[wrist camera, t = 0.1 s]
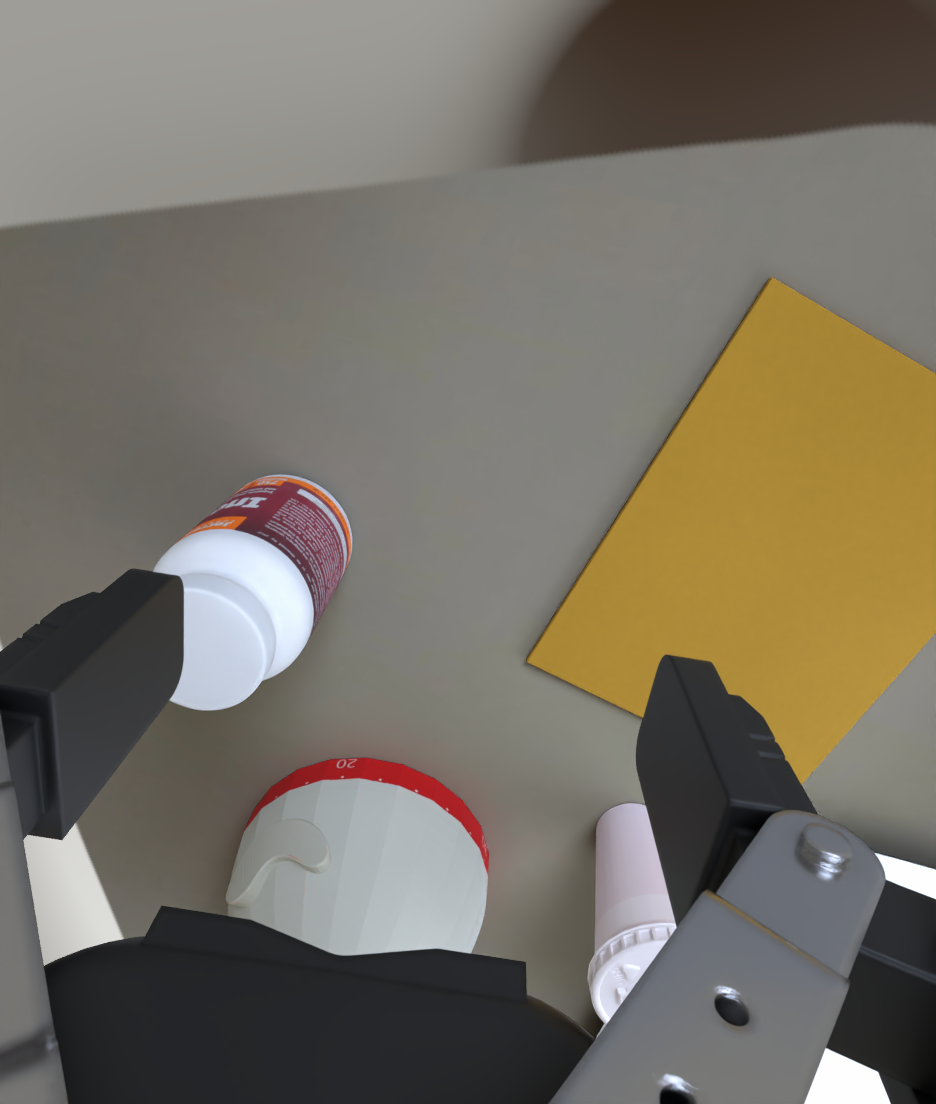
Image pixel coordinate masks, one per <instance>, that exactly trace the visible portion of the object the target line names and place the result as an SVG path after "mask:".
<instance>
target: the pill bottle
mask: <svg viewBox="0 0 936 1104" xmlns="http://www.w3.org/2000/svg"><path fill="white" fill-rule="evenodd" d="M351 553H352V532H351V528H350V524H349V521H348V518H347V516H346V514H345V512H344V511H343V509H342V507H341V506H340V505H339V503H338V502H337V501H336V500H335V499H334V497H333V496H332V495H331V494H329V493H328V492H327V491H326V490H325V489H323V488H322V487H320V486H319V485H317V484H315V483H313V482H311V481H309V480H307V479H304V478H300V477H297V476H292V475H269V476H265V477H261V478H258V479H256V480H254V481H251V482H249V483H248V484H246V485H245V486H243V487H242V488H240V489H239V490H238V491H237V492H235V493H234V494H233V495H232V496H231V497H230V498H229V499H227V500H226V501H225V502H224V503H223V504H222V505H221V506H219V507H218V508H217V509H216V510H215V511H214V512H212V513H211V514H210V515H209V516H208V517H206V518H205V519H204V520H203V521H202V522H200V523H199V524H198V525H197V526H196V527H194V528H193V529H192V530H191V531H190V532H189V533H187V534H186V535H185V536H184V537H182V538H181V539H180V540H179V541H178V542H177V543H175V544H174V545H173V546H172V547H171V548H170V549H169V550H168V551H167V552H166V553H165V554H164V555H163V556H162V557H161V559H160V560H159V561H158V563H157V564H156V566H155V568H154V570H153V572H159V573H165V574H171V575H178V576H179V577H180V578H181V579H182V582H183V586H184V661H183V669H182V673H181V677H180V681H179V683H178V686H177V688H176V690H175V692H174V694H173V696H172V697H171V698H170V701H171V702H173V703H176V704H178V705H181V706H184V707H187V708H191V709H196V710H220V709H225V708H229V707H231V706H234V705H236V704H239V703H240V702H242V701H243V700H245V699H246V698H248V697H249V696H250V695H251V694H252V693H253V692H254V691H255V690H256V689H257V687H258V686H259V684H260V683H261V682H262V681H263V680H266V679H268V678H271V677H273V676H275V675H277V674H278V673H280V672H282V671H283V670H284V669H286V668H287V667H288V666H289V665H290V664H291V663H292V662H293V661H294V660H295V659H296V658H297V657H298V655H299V654H300V653H301V651H302V650H303V648H304V647H305V645H306V643H307V642H308V640H309V638H310V636H311V634H312V632H313V630H314V629H315V627H316V625H317V623H318V621H319V619H320V617H321V616H322V614H323V612H324V610H325V608H326V606H327V605H328V603H329V601H330V599H331V597H332V595H333V594H334V592H335V590H336V588H337V586H338V584H339V582H340V580H341V579H342V577H343V575H344V573H345V571H346V569H347V566H348V563H349V560H350V557H351Z"/></svg>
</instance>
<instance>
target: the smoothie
mask: <svg viewBox="0 0 936 1104" xmlns="http://www.w3.org/2000/svg"><path fill="white" fill-rule="evenodd" d="M676 928H677V927H676V923H675V919H674V915H673V911H672V907H671V903H670V899H669V895H668V892H667V888H666V884H665V880H664V876H663V872H662V868H661V864H660V860H659V856H658V852H657V848H656V844H655V840H654V836H653V832H652V828H651V824H650V820H649V816H648V812H647V808H646V806H645V805H642V804H636V803H627V804H621V805H618V806H615V807H613V808H611V809H609V810H608V811H606V812H605V813H604V814H603V815H602V816H601V818H600V819H599V821H598V823H597V827H596V888H595V954H594V956H593V958H592V960H591V961H590V963H589V968H588V975H587V980H588V984H589V988H590V992H591V1000H592V1004H593V1007H594V1009H595V1011H596V1013H597V1015H598V1016H599V1018H600V1019H601V1020H602V1021H603V1022H604V1023H605V1024H607V1023H608V1022H609V1020H610V1019H611V1017H612V1016H613V1015H614V1013H615V1012H616V1011H617V1009H618V1008H619V1006H620V1005H621V1004H622V1002H623V1001H624V1000H625V998H626V997H627V995H628V994H629V993H630V991H631V990H632V989H633V987H634V986H635V984H636V983H637V982H638V980H639V979H640V977H641V976H642V975H643V973H644V972H645V971H646V969H647V968H648V966H649V965H650V964H651V962H652V961H653V960H654V958H655V957H656V955H657V954H658V953H659V951H660V950H661V949H662V947H663V946H664V944H665V943H666V942H667V940H668V939H669V938H670V936H671V935H672V933H673V932H674V931H675V929H676Z"/></svg>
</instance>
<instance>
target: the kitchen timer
mask: <svg viewBox="0 0 936 1104" xmlns="http://www.w3.org/2000/svg"><path fill="white" fill-rule="evenodd" d="M488 860H489V852H488V849H487V846H486V842H485V839H484V836H483V832H482V829H481V826H480V824H479V823H478V822H477V820H476V819H475V817H474V816H473V815H472V813H471V812H470V810H469V809H468V807H467V806H466V805H465V803H464V802H463V800H461V799H460V798H459V797H458V796H456V795H455V794H454V793H452V792H451V791H450V790H449V789H447V788H446V787H445V786H444V785H442V784H441V783H440V782H439V781H437V780H436V779H434V778H432V777H430V776H427V775H425V774H423V773H421V772H418V771H416V770H414V769H412V768H409V767H407V766H405V765H403V764H397V763H392V762H386V761H381V760H376V759H370V758H350V759H331V760H327V761H324V762H320V763H317V764H314V765H311V766H308V767H304V768H301V769H298V770H296V771H295V772H293V773H292V774H290V775H289V776H287V777H286V778H284V779H283V780H281V781H280V782H278V783H277V784H275V785H274V786H272V787H271V788H270V789H269V791H268V792H267V793H266V795H265V796H264V797H263V799H262V800H261V801H260V803H259V804H258V805H257V806H256V808H255V809H254V811H253V813H252V815H251V817H250V820H249V822H248V824H247V826H246V828H245V831H244V833H243V836H242V840H241V843H240V846H239V850H238V853H237V857H236V860H235V864H234V867H233V871H232V876H231V881H230V884H229V886H228V889H227V893H226V902H227V903H228V916H231V917H237V918H244V919H250V920H253V921H256V922H258V923H260V924H263V925H265V926H268V927H270V928H272V929H275V930H277V931H280V932H282V933H284V934H287V935H289V936H291V937H294V938H296V939H299V940H301V941H303V942H306V943H308V944H311V945H313V946H315V947H318V948H320V949H322V950H325V951H327V952H330V953H333V954H336V955H361V954H373V953H385V952H398V951H410V950H422V949H435V948H438V949H444V950H451V951H457V952H464V953H470V954H471V952H472V949H473V947H474V944H475V942H476V939H477V937H478V934H479V931H480V929H481V926H482V922H483V918H484V914H485V907H486V897H487V883H488Z"/></svg>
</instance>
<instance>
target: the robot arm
mask: <svg viewBox="0 0 936 1104" xmlns="http://www.w3.org/2000/svg"><path fill="white" fill-rule="evenodd" d="M183 661H184V586H183V582H182V579H181V578H180V577H179V576H178V575H171V574H165V573H159V572H153V571H146V570H140V569H130V570H128V571H127V572H126V573H124V574H123V575H122V576H121V577H119V578H118V579H117V580H116V581H115V582H113V583H112V584H111V585H110V586H109V587H107V588H106V589H105V590H104V591H102V592H101V593H96V592H91V593H89V594H86V595H84V596H81V597H79V598H76V599H73V600H71V601H68V602H66V603H63V604H61V605H60V606H59V607H57V608H56V609H55V610H53V611H52V612H51V613H50V614H48V615H47V616H46V617H44V618H43V619H42V620H41V621H40V624H35V625H34V626H33V627H32V628H30V629H29V630H28V631H26V632H25V633H24V634H23V637H22V638H17V639H16V640H15V641H14V642H12V643H11V644H10V645H8V646H7V647H6V648H5V649H3V650H2V651H1V652H0V1104H804V1103H805V1101H806V1098H807V1095H808V1093H809V1090H810V1088H811V1085H812V1082H813V1080H814V1077H815V1075H816V1072H817V1070H818V1067H819V1064H820V1062H821V1059H822V1057H823V1054H824V1051H825V1049H826V1048H827V1049H829V1050H831V1051H833V1052H835V1053H838V1054H840V1055H842V1056H844V1057H846V1058H849V1059H851V1060H853V1061H855V1062H857V1063H859V1064H862V1065H864V1066H866V1067H868V1068H870V1069H873V1070H875V1071H877V1072H878V1073H879V1076H880V1078H881V1081H882V1083H883V1086H884V1088H885V1091H886V1093H887V1096H888V1098H889V1101H890V1103H891V1104H936V899H934V898H932V897H929V896H926V895H924V894H921V893H919V892H916V891H913V890H911V889H908V888H905V887H903V886H900V885H898V884H896V883H893V882H891V881H888V880H886V878H885V871H884V869H883V866H882V864H881V862H880V860H879V859H878V857H877V856H876V854H875V853H874V852H873V851H872V849H871V848H870V847H869V846H868V845H867V844H866V843H865V842H864V841H862V840H861V839H860V838H859V837H858V836H856V835H855V834H854V833H852V832H851V831H849V830H848V829H846V828H845V827H843V826H841V825H840V824H838V823H836V822H834V821H832V820H830V819H827V818H825V817H822V816H820V815H818V814H817V812H816V810H815V809H814V807H813V805H812V803H811V801H810V800H809V798H808V796H807V794H806V792H805V791H804V789H803V787H802V785H801V783H800V782H799V780H798V778H797V776H796V774H795V773H794V771H793V769H792V767H791V765H790V764H789V762H788V761H786V760H785V755H784V753H783V751H782V749H781V747H780V746H779V744H778V742H775V737H774V735H773V733H772V731H771V729H770V728H769V726H768V724H767V722H766V721H765V719H764V717H763V716H762V715H761V714H760V713H759V712H758V711H757V710H755V709H754V708H753V707H752V706H751V705H750V704H749V703H748V702H747V701H745V700H744V699H743V698H742V697H741V696H738V695H732V694H728V692H727V690H726V688H725V686H724V684H723V682H722V680H721V678H720V676H719V674H718V672H717V670H716V668H715V666H714V665H713V663H712V662H710V661H705V660H699V659H693V658H686V657H680V656H674V655H667V654H666V655H664V656H663V657H662V659H661V661H660V663H659V665H658V668H657V671H656V675H655V678H654V682H653V685H652V688H651V692H650V695H649V699H648V702H647V706H646V709H645V713H644V716H643V719H642V723H641V726H640V730H639V734H638V739H637V746H636V767H637V773H638V776H639V780H640V784H641V788H642V792H643V796H644V800H645V804H646V808H647V812H648V816H649V820H650V824H651V828H652V832H653V836H654V840H655V844H656V848H657V852H658V856H659V860H660V864H661V868H662V872H663V876H664V880H665V884H666V888H667V892H668V895H669V899H670V903H671V907H672V911H673V915H674V919H675V923H676V927H677V928H676V929H675V931H674V932H673V933H672V935H671V936H670V938H669V939H668V940H667V942H666V943H665V944H664V946H663V947H662V949H661V950H660V951H659V953H658V954H657V955H656V957H655V958H654V960H653V961H652V962H651V964H650V965H649V966H648V968H647V969H646V971H645V972H644V973H643V975H642V976H641V977H640V979H639V980H638V982H637V983H636V984H635V986H634V987H633V989H632V990H631V991H630V993H629V994H628V995H627V997H626V998H625V1000H624V1001H623V1002H622V1004H621V1005H620V1006H619V1008H618V1009H617V1011H616V1012H615V1013H614V1015H613V1016H612V1017H611V1019H610V1020H609V1022H608V1023H607V1024H606V1026H605V1027H604V1028H603V1030H602V1031H601V1033H600V1034H599V1035H598V1037H597V1038H596V1039H595V1038H594V1037H593V1036H592V1035H591V1034H589V1033H588V1032H587V1031H586V1030H585V1029H584V1028H583V1027H581V1026H580V1025H579V1024H577V1023H576V1022H575V1021H573V1020H572V1019H570V1018H569V1017H567V1016H566V1015H565V1014H563V1013H562V1012H560V1011H559V1010H557V1009H555V1008H553V1007H551V1006H550V1005H548V1004H546V1003H544V1002H542V1001H541V1000H538V999H536V998H534V997H532V996H529V995H527V991H526V962H522V961H515V960H509V959H502V958H496V957H490V956H483V955H477V954H470V953H464V952H457V951H451V950H444V949H438V948H435V949H422V950H410V951H398V952H385V953H373V954H361V955H336V954H333V953H330V952H327V951H325V950H322V949H320V948H318V947H315V946H313V945H311V944H308V943H306V942H303V941H301V940H299V939H296V938H294V937H291V936H289V935H287V934H284V933H282V932H280V931H277V930H275V929H272V928H270V927H268V926H265V925H263V924H260V923H258V922H256V921H253V920H250V919H244V918H237V917H231V916H224V915H218V914H211V913H205V912H198V911H192V910H185V909H179V908H172V907H166V906H161V908H160V910H159V911H158V913H157V915H156V917H155V919H154V921H153V923H152V925H151V926H150V928H149V930H148V932H147V934H146V936H145V937H135V938H128V939H123V940H118V941H112V942H107V943H104V944H100V945H97V946H93V947H90V948H86V949H83V950H80V951H78V952H75V953H73V954H70V955H67V956H65V957H62V958H60V959H57V960H55V961H53V962H51V963H49V964H47V965H45V966H44V965H43V959H42V953H41V947H40V940H39V934H38V928H37V922H36V916H35V910H34V903H33V898H32V892H31V885H30V879H29V873H28V867H27V861H26V854H25V849H24V842H23V840H24V838H25V837H26V836H27V835H33V836H39V837H46V838H52V839H59V840H63V838H64V837H65V836H66V834H67V833H68V832H69V830H70V829H71V828H72V827H73V825H74V824H75V823H76V821H77V820H78V819H79V817H80V816H81V815H82V813H83V812H84V811H85V810H86V808H87V807H88V806H89V804H90V803H91V802H92V800H93V799H94V798H95V796H96V795H97V794H98V793H99V791H100V790H101V789H102V787H103V786H104V785H105V783H106V782H107V781H108V779H109V778H110V777H111V776H112V774H113V773H114V772H115V770H116V769H117V768H118V766H119V765H120V764H121V762H122V761H123V760H124V759H125V757H126V756H127V755H128V753H129V752H130V751H131V749H132V748H133V747H134V745H135V744H136V743H137V742H138V740H139V739H140V738H141V736H142V735H143V734H144V732H145V731H146V730H147V728H148V727H149V726H150V725H151V723H152V722H153V721H154V719H155V718H156V717H157V715H158V714H159V713H160V712H161V710H162V709H163V708H164V706H165V705H166V704H167V702H168V701H169V700H170V698H171V697H172V696H173V694H174V692H175V690H176V688H177V686H178V683H179V681H180V677H181V673H182V669H183Z"/></svg>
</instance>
